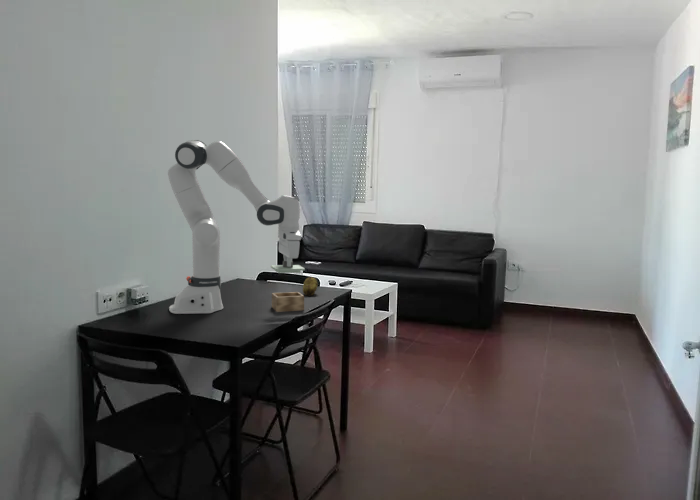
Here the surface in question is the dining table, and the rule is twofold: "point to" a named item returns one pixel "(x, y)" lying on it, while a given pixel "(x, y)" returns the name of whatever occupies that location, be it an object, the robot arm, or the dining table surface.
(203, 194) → the robot arm
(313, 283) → the potato
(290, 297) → the box
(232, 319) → the dining table surface
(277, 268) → the lid
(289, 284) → the dining table surface
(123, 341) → the dining table surface
